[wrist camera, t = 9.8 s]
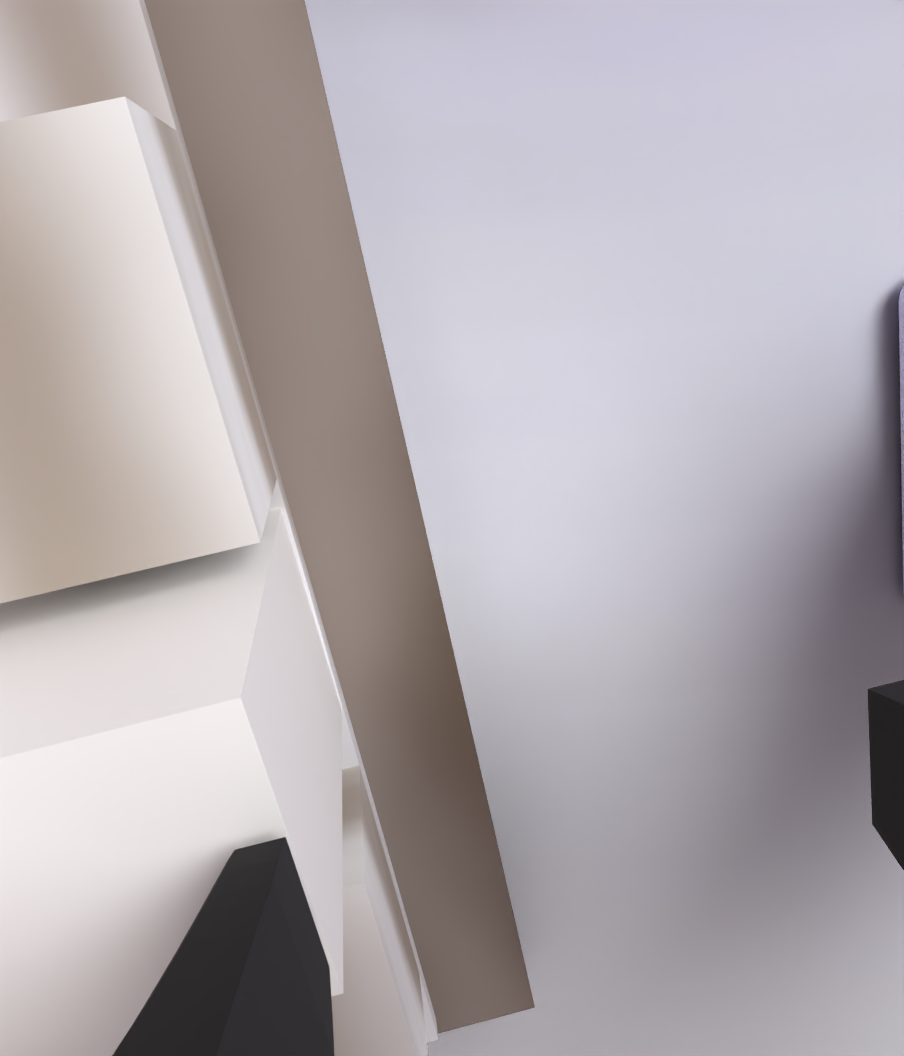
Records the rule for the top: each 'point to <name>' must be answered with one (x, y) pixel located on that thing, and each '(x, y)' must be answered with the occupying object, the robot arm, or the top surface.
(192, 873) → the block
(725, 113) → the top surface
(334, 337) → the rail board
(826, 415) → the top surface
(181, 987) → the robot arm
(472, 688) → the top surface
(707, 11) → the top surface
